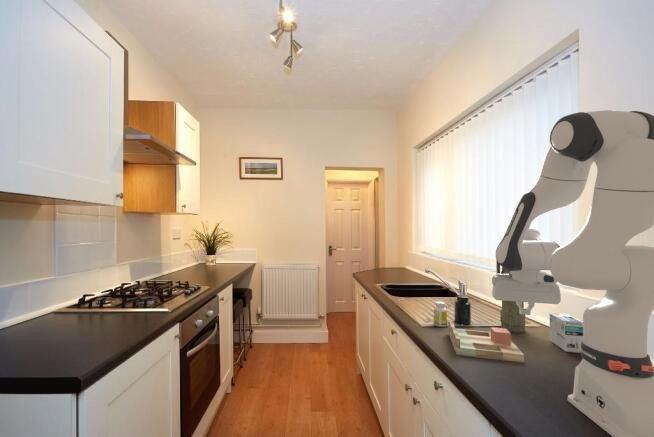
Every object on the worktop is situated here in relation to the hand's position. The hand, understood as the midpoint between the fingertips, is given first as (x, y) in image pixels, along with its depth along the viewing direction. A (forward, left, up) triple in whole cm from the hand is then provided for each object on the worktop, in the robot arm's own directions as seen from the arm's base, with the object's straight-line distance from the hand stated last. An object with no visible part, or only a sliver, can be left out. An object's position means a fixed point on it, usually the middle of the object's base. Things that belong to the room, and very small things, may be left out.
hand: (524, 314), depth 104 cm
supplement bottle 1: (+20, +26, -13) cm, 35 cm away
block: (-1, +8, -10) cm, 13 cm away
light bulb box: (+8, -16, -13) cm, 22 cm away
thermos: (+23, -3, -13) cm, 27 cm away
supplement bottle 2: (+26, +16, -13) cm, 33 cm away
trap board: (-1, +14, -13) cm, 19 cm away
